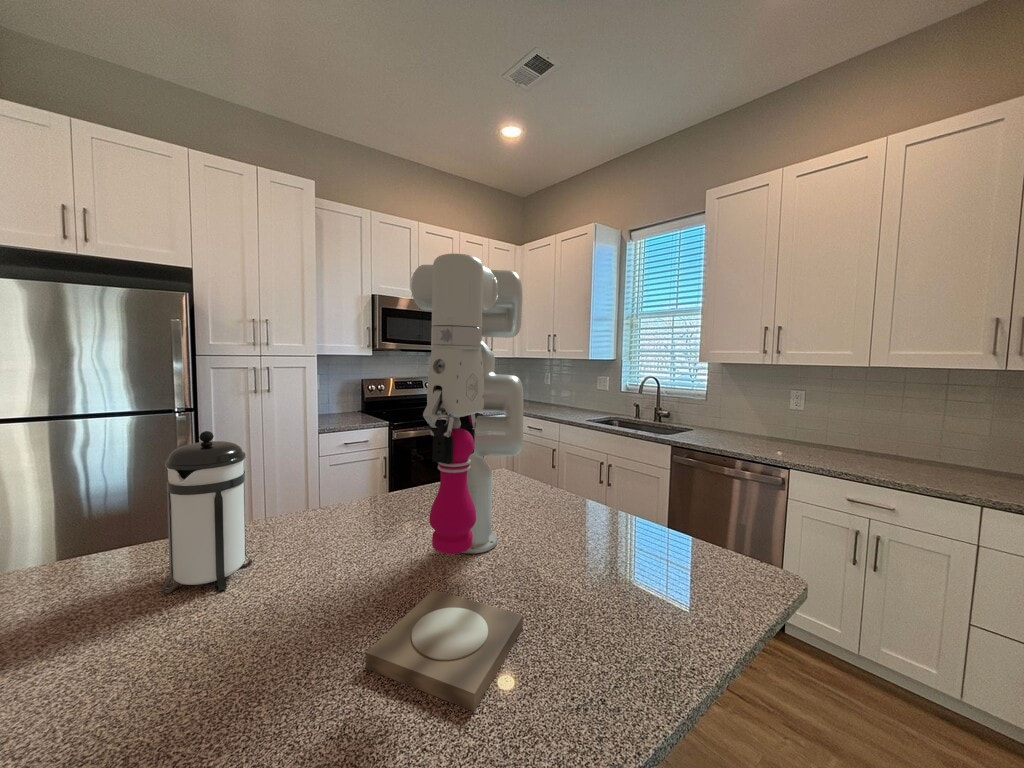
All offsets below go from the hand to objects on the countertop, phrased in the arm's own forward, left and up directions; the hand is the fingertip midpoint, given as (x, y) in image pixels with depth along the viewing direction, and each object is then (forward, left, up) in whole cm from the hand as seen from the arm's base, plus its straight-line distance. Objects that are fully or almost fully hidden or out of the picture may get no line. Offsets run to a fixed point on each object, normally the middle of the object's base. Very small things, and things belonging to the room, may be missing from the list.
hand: (454, 456), depth 64 cm
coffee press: (-55, -2, -31) cm, 63 cm away
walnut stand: (0, 0, -31) cm, 31 cm away
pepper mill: (0, 0, -14) cm, 14 cm away
